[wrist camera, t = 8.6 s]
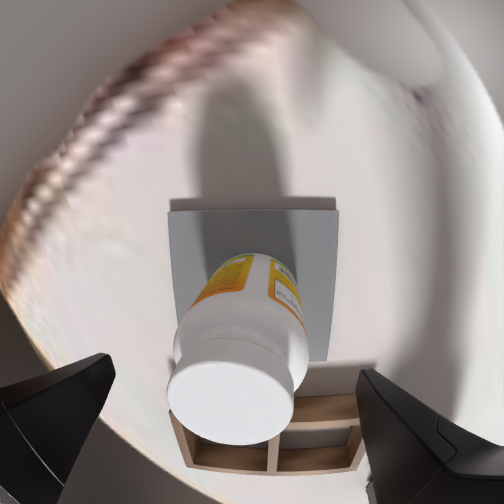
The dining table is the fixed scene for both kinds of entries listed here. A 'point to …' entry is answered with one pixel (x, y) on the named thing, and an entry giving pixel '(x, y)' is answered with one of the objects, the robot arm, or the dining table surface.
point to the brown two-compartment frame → (284, 460)
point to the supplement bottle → (240, 353)
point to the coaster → (263, 242)
